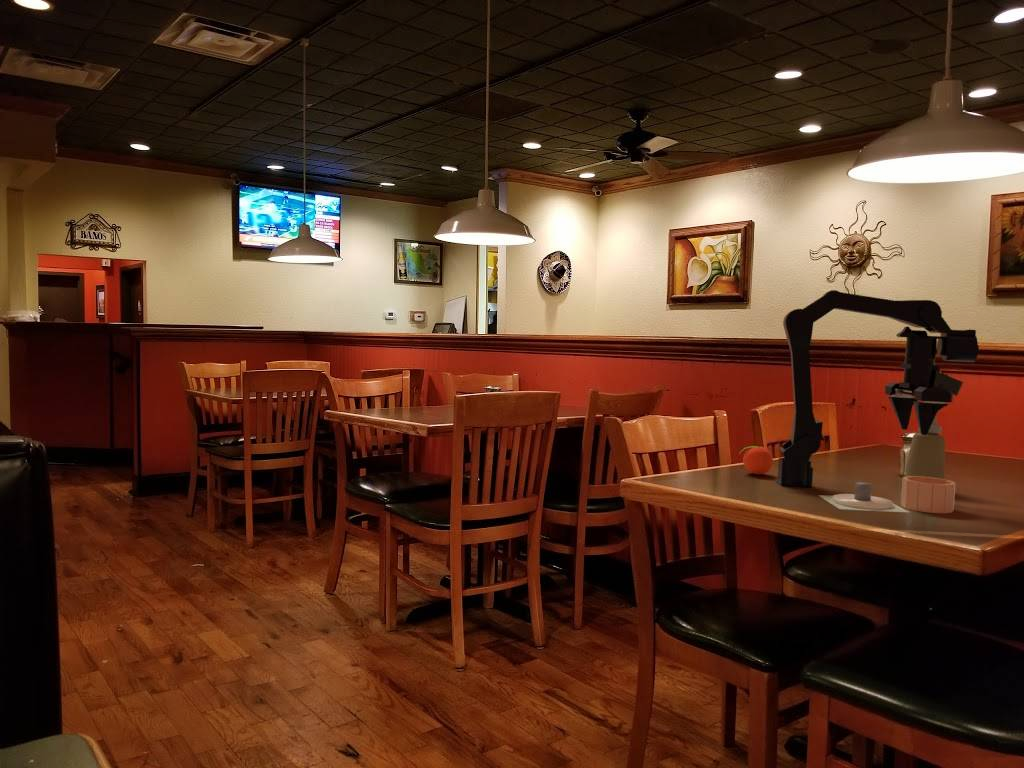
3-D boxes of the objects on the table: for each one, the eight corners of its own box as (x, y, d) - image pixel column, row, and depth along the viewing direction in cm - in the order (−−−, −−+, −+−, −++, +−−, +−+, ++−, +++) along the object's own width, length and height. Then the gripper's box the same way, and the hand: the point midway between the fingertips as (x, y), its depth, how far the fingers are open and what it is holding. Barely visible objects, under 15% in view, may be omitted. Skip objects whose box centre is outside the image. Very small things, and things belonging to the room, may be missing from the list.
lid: (843, 508, 149) (844, 487, 149) (825, 496, 160) (826, 477, 160) (902, 511, 148) (903, 490, 148) (879, 499, 159) (881, 480, 159)
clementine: (738, 475, 186) (740, 446, 185) (737, 470, 192) (738, 442, 192) (773, 478, 184) (775, 448, 183) (770, 473, 191) (772, 444, 190)
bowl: (913, 514, 148) (915, 483, 148) (893, 504, 157) (895, 475, 157) (961, 516, 147) (964, 485, 147) (939, 506, 156) (941, 477, 156)
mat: (839, 512, 148) (839, 508, 148) (818, 498, 161) (818, 495, 161) (909, 515, 147) (910, 512, 147) (882, 501, 160) (883, 498, 160)
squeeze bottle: (929, 486, 180) (939, 410, 179) (950, 493, 171) (961, 412, 171) (895, 483, 179) (905, 406, 179) (915, 489, 171) (925, 408, 170)
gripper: (982, 363, 155) (975, 440, 156) (937, 359, 174) (931, 428, 175) (925, 360, 156) (919, 437, 157) (886, 357, 174) (881, 426, 175)
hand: (913, 432), depth 166 cm, fingers open, 9 cm apart
